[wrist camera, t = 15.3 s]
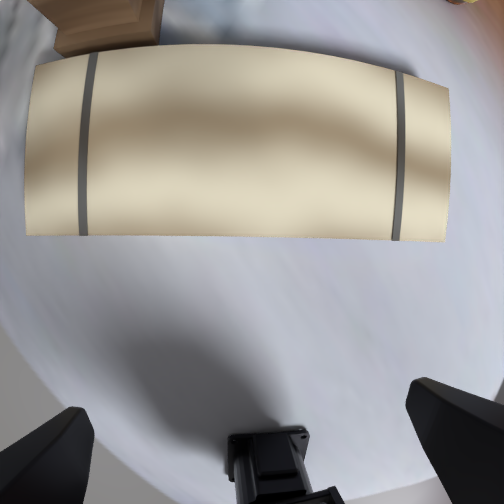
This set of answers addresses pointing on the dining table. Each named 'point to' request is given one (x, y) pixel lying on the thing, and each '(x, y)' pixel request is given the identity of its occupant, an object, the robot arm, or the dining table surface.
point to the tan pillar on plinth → (102, 24)
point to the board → (235, 146)
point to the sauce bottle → (461, 1)
